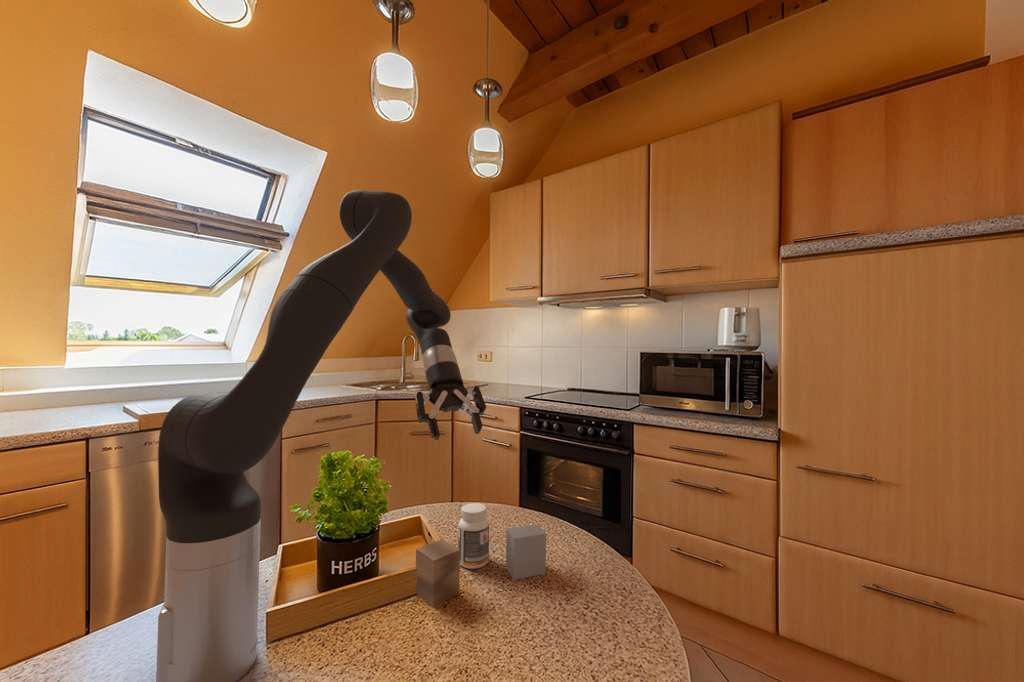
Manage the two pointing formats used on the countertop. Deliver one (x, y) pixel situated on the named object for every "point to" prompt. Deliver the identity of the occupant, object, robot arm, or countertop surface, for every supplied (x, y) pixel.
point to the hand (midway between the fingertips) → (458, 435)
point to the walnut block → (437, 572)
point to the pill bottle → (473, 536)
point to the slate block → (525, 551)
